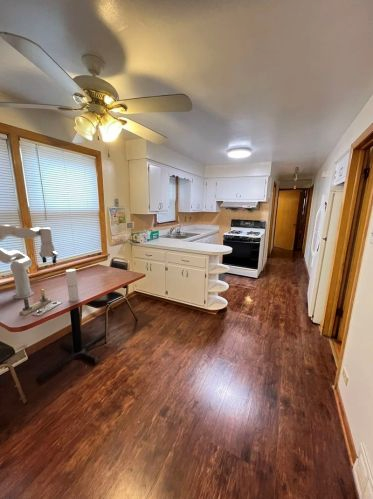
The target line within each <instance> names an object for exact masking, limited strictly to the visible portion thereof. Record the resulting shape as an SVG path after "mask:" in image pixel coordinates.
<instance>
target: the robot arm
mask: <svg viewBox="0 0 373 499" xmlns="http://www.w3.org/2000/svg"><path fill="white" fill-rule="evenodd" d="M8 237H13V238H14V237H16V238H20V239H33V238H34V239H35V238H38V237H40V252H39V253H38V254H39V256H40V257H41V259H42V263H43V264H45V263H47V258H51V260H52V264H56V263H57V258H58V255H59V253H57V252H56V250H55V247H54V244H53V238H52V230H51V228H50V227H31V228H19V227H18V226H17V225H9V224H6V223H4V224H3V223H2V224H0V243H1V242H2V241H4V240H5V239H6V238H8ZM0 262H2V263H3V264H10V270H11V273H12V275H13V280H14V286H15V291H14V292H13V293H14V294H15V295H14V298H15V299H26V298H29V297H31V296H33V295H34V292H33V291H32V290H31V283H30V277H29V273H28V271H27V269H29V268H30V267H32V265H33V260H32V259H31V258H30V257H29V256H27V255H26V254H23V252H20V251H18V250H16V249H10V250H5V249H3V248H2V247H0Z"/></svg>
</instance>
